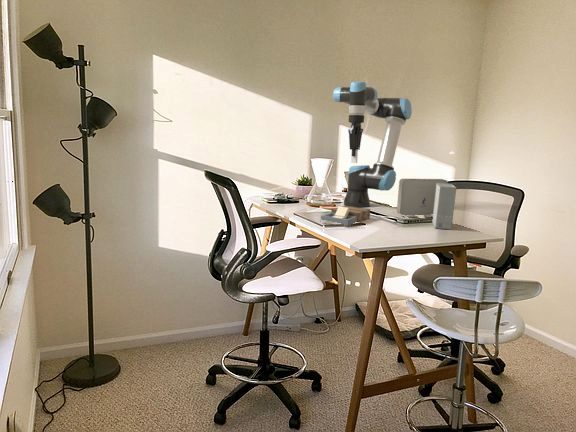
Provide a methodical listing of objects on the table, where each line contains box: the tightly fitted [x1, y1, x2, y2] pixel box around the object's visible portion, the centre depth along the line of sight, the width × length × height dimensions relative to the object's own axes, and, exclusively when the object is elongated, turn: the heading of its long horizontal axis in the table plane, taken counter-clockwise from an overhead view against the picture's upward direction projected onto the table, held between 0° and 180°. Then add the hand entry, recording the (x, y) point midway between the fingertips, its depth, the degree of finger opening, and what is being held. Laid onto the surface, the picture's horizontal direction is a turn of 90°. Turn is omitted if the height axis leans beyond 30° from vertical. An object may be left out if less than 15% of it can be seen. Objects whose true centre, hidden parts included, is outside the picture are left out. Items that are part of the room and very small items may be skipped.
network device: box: [396, 178, 449, 217], centre depth 242 cm, size 26×9×20 cm, turn 104°
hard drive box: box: [431, 183, 457, 230], centre depth 223 cm, size 16×8×20 cm, turn 168°
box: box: [320, 212, 357, 228], centre depth 220 cm, size 10×14×4 cm
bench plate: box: [330, 205, 371, 223], centre depth 231 cm, size 15×14×5 cm
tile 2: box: [335, 206, 349, 219], centre depth 223 cm, size 5×5×2 cm
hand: (354, 162), depth 233 cm, fingers closed
